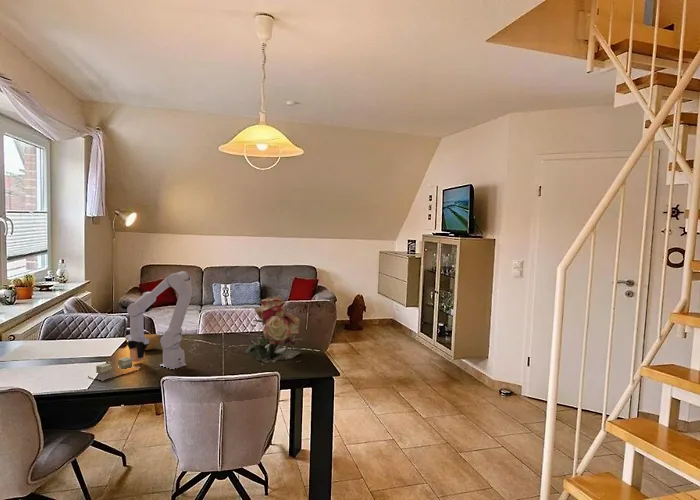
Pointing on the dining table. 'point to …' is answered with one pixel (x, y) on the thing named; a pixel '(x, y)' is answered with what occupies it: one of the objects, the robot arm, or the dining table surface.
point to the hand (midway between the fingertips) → (137, 356)
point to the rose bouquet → (274, 331)
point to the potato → (152, 341)
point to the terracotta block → (135, 355)
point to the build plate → (122, 364)
